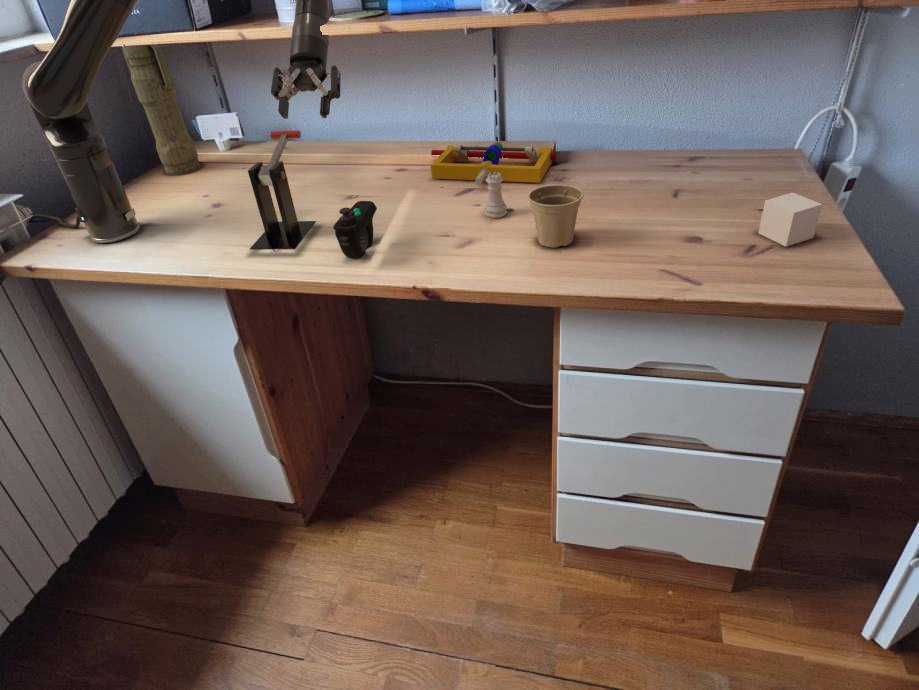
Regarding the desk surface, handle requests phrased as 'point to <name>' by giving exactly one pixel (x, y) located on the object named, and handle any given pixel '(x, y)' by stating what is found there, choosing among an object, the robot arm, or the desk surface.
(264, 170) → the lever
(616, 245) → the desk surface
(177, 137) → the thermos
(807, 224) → the beige cube
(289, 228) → the bracket
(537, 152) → the mechanical clamp
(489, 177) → the rook chess piece
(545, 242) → the flower pot
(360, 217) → the controller
